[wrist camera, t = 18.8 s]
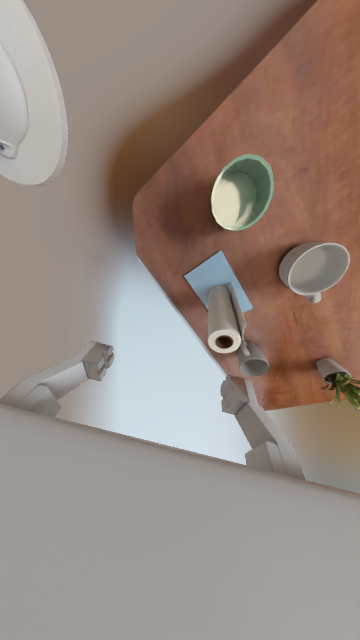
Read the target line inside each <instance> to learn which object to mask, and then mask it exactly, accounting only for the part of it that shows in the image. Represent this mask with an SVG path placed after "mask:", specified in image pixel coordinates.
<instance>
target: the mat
mask: <svg viewBox="0 0 360 640" xmlns="http://www.w3.org/2000/svg"><path fill="white" fill-rule="evenodd" d="M184 277H185V278H186V280H187V281H188V283H189V284H190V285H191V287H192V288H193V290H194V291H195V292H196V294H197V295H198V297H199V298H200V299H201V301H202V302H203V304H204V305H205V306H206V308H207V309H208V294H209V291H210V290H211V289H212V288H213V287H215V286H220V285H221V286H224V287H226V288H227V289H228V291H229V293H230V283H231V282H232V285H233V287H234V290H235V293H236V296H237V299H238V302H239V305H240V307H241V310H242V313H243V312H246V311H248V310H250V309H252V308H253V306H252V305H251V303H250V301H249V299H248V297H247V296H246V294H245V292H244V290H243V288H242V287H241V285H240V283H239V281H238V279H237V278H236V276H235V274H234V272H233V270H232V269H231V267H230V265H229V263H228V261H227V260H226V258H225V256H224V254H223V252H222V251H221V250H220V251H219V252H217V253H216V254H214V255H213V256H212V257H210V258H209V259H207V260H206V261H204V262H203V263H202V264H200V265H199V266H197V267H196V268H194V269H193V270H192V271H190V272H189V273H187V274H186V275H184Z"/></svg>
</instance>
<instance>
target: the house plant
mask: <svg viewBox="0 0 360 640" xmlns="http://www.w3.org/2000/svg"><path fill="white" fill-rule="evenodd" d="M316 365H317V368H318V370H319V372H320V374H321V376H322V378H323V380H324V382H325V383H328V385H329V384H332V386H331V388H330V389H327V390H334V389H335V387H336V395H335V397H334V399H333V401H332V402H331V403H333V402H334V400H335V399H337V398H338V404H339V407H340V391H339V388H340V390H341V391H342V392H343V394H345V396H346V397H347V399H348V400H349V402H350V403H351V404H352V405H353V406H354V407H356V409H358V410H360V406H359V405H358V404H357V403H356V401H357V402H358V403H359V404H360V400H359V399H360V396H359V395H358V394H360V390H359V389H360V388H359V387H356V386H354V385H352V384H350V383H349V382H350V381H351V380H352V378H353V377H351V374H350V373H349V372H347V371H346V370H345V369H344V368H342V367H341V366H340V365H339V364H338V363H336V362H335V361H334V360H333V359H331V358H323V359H320V360H319V361H317V363H316ZM352 381H357V380H352ZM351 383H356V384H360V381H357V382H351ZM328 385H327V386H326V387H324V388H321V389H326V388H327V387H328ZM353 398H354V399H355V400H356V401H355V400H354V399H353ZM331 403H329V404H331ZM329 404H328V405H329Z"/></svg>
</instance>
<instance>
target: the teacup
mask: <svg viewBox="0 0 360 640" xmlns="http://www.w3.org/2000/svg"><path fill="white" fill-rule="evenodd" d="M349 263H350V254H349V252H348V250H347V249H346V248H345V247H344V246H343V245H341V244H338V243H325V242H308V243H304V244H301V245H299V246H297V247H295V248H294V249H292V250H291V251H290V252H289V253H288V254H287V255H286V256H285V257H284V258H283V260H282V262H281V264H280V267H279V276H280V278H281V280H282V282H283V283H284V284H285V285H286V286H288V287H289V288H290V289H291V290H292V291H294V292H295V293H297V294H300V295H306V298H307V299H308V301H309V302H311V303H317V302H319V301H320V300H321V294H320V293H321V292H323V291H325V290H327V289H329V288H331V287H332V286H334V285H335V284H336V283H337V282H338V281H339V280H340V279H341V278H342V277H343V276H344V274H345V273H346V271H347V269H348V267H349Z"/></svg>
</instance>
